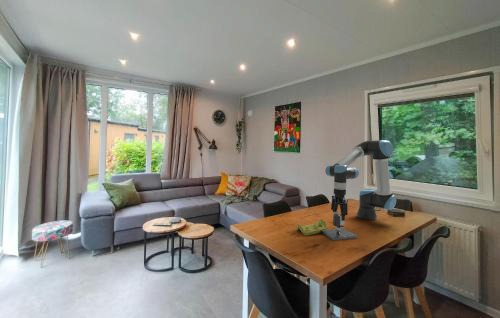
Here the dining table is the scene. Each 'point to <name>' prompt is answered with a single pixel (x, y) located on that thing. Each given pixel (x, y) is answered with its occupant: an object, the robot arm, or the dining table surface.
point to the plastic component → (313, 227)
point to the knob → (337, 220)
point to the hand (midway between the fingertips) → (338, 223)
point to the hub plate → (338, 234)
